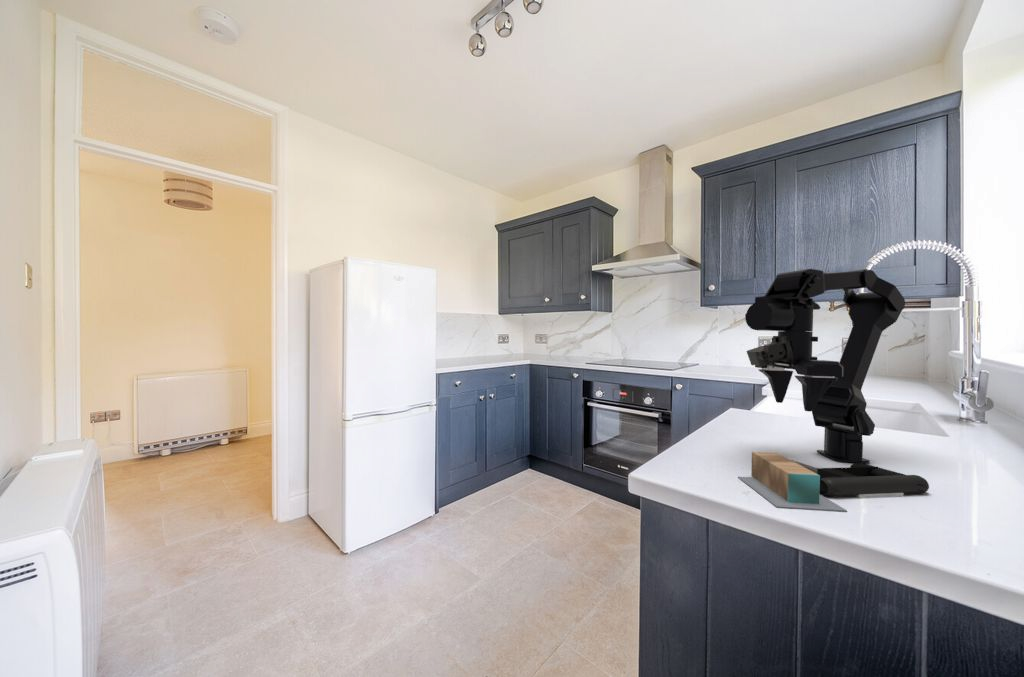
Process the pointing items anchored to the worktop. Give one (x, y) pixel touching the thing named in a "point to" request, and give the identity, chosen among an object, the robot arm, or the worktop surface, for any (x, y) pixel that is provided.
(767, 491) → the mat
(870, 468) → the door handle
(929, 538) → the worktop surface
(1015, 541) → the worktop surface
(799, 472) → the walnut block
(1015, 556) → the worktop surface
